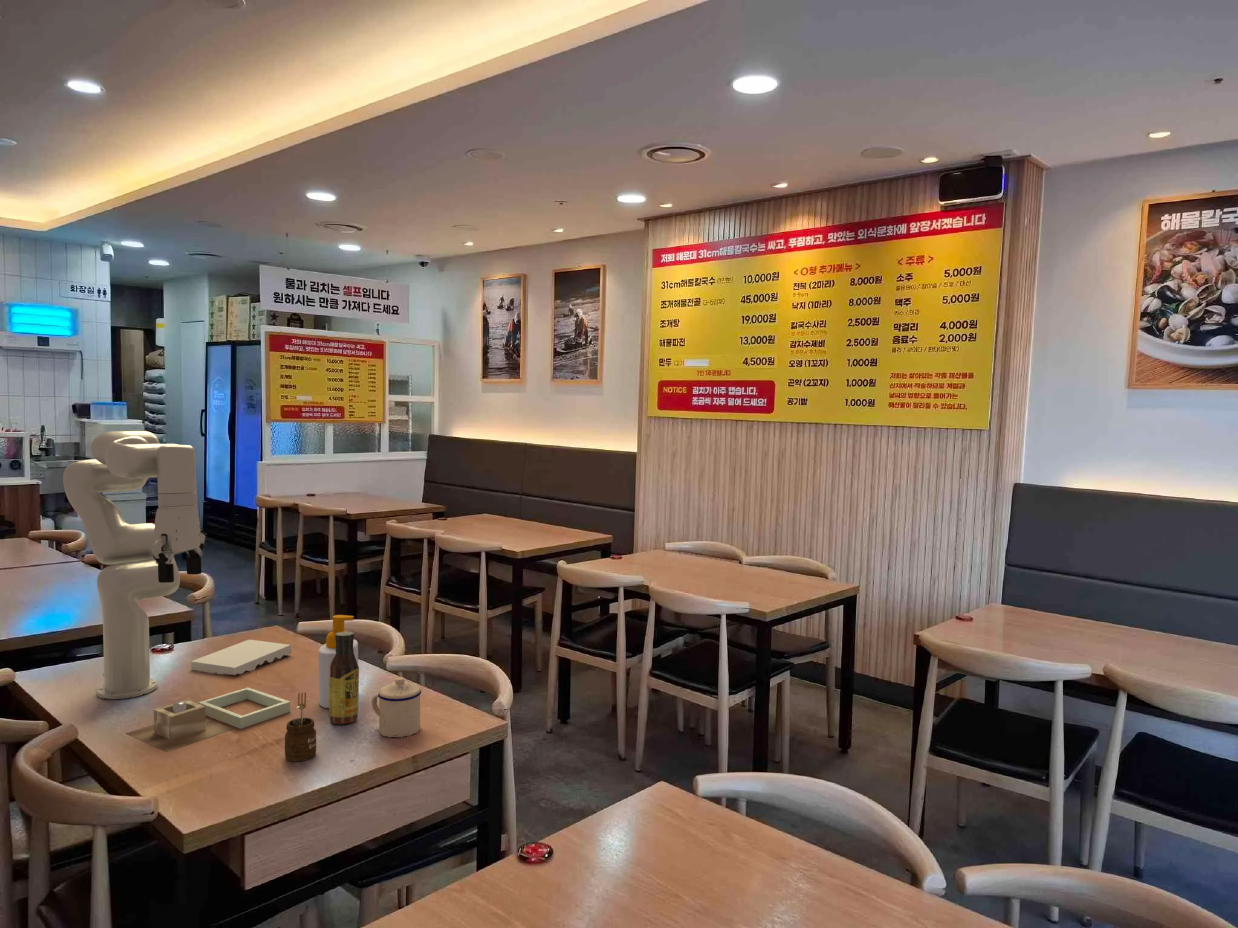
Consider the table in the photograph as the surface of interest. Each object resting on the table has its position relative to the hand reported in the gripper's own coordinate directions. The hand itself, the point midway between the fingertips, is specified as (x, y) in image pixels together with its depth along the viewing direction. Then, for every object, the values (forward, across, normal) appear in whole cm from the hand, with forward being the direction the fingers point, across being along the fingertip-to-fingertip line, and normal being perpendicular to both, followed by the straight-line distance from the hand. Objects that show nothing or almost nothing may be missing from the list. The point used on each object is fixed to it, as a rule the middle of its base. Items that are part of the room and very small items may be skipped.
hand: (180, 578), depth 177 cm
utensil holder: (+34, +14, +34) cm, 49 cm away
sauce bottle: (+33, -5, +34) cm, 48 cm away
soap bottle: (+33, -18, +27) cm, 46 cm away
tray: (+32, -3, +12) cm, 35 cm away
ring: (+31, +9, +4) cm, 32 cm away
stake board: (+32, +9, +4) cm, 34 cm away
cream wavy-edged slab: (+32, -41, -10) cm, 53 cm away
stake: (+31, +9, +5) cm, 32 cm away
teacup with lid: (+34, -2, +47) cm, 58 cm away
